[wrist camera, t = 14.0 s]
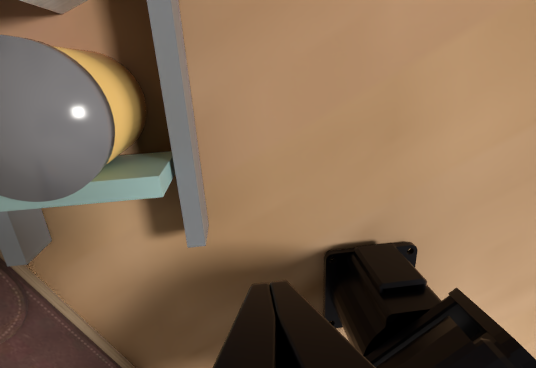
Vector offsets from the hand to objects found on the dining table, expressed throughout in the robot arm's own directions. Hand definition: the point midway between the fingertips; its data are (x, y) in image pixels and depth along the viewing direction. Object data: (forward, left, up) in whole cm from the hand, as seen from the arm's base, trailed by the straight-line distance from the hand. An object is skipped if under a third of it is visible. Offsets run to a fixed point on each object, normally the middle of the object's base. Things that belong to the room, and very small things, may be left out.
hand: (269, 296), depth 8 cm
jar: (+4, +8, -12) cm, 15 cm away
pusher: (+1, +8, -12) cm, 14 cm away
